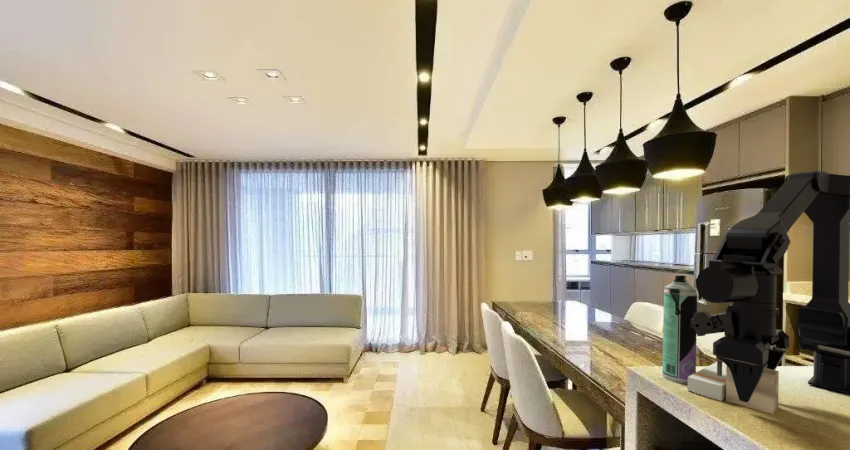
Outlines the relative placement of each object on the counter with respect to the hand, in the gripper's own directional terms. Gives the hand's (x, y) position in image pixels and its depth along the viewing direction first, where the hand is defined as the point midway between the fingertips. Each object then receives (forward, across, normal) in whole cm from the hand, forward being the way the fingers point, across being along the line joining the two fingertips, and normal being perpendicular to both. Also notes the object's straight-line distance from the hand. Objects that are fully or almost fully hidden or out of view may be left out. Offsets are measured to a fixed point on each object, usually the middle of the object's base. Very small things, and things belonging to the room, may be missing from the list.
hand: (751, 394), depth 66 cm
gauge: (+2, 0, 0) cm, 2 cm away
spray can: (+2, -3, -12) cm, 12 cm away
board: (+2, -6, -6) cm, 9 cm away
